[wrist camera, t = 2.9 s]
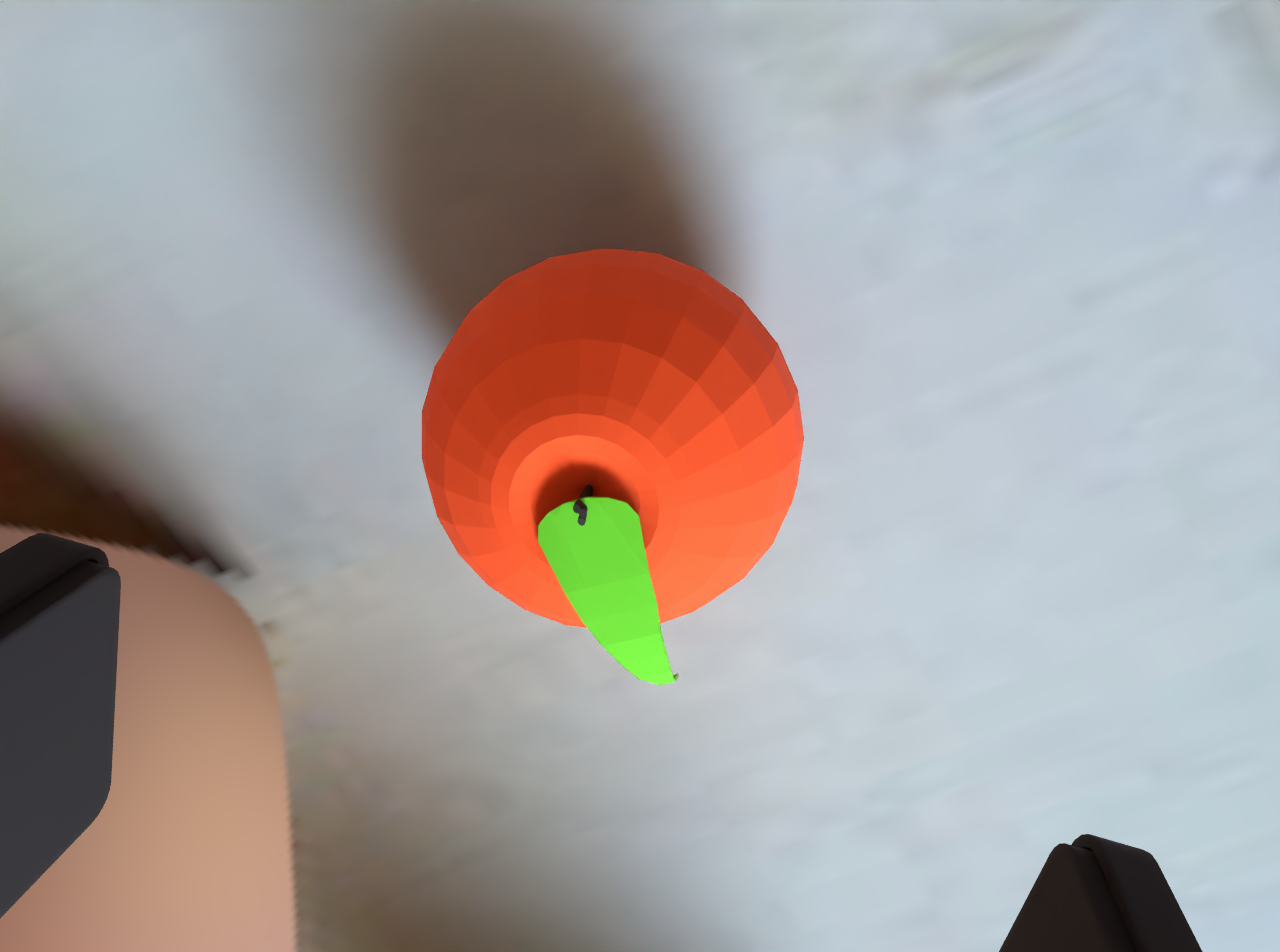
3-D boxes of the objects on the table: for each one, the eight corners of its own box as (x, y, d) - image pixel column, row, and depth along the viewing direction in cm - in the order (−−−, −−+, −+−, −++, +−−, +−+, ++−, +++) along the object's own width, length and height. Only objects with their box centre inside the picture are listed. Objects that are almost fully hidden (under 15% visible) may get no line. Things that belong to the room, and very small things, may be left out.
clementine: (843, 535, 22) (879, 723, 15) (556, 604, 23) (475, 801, 17) (747, 180, 19) (740, 219, 13) (432, 281, 21) (280, 363, 14)
